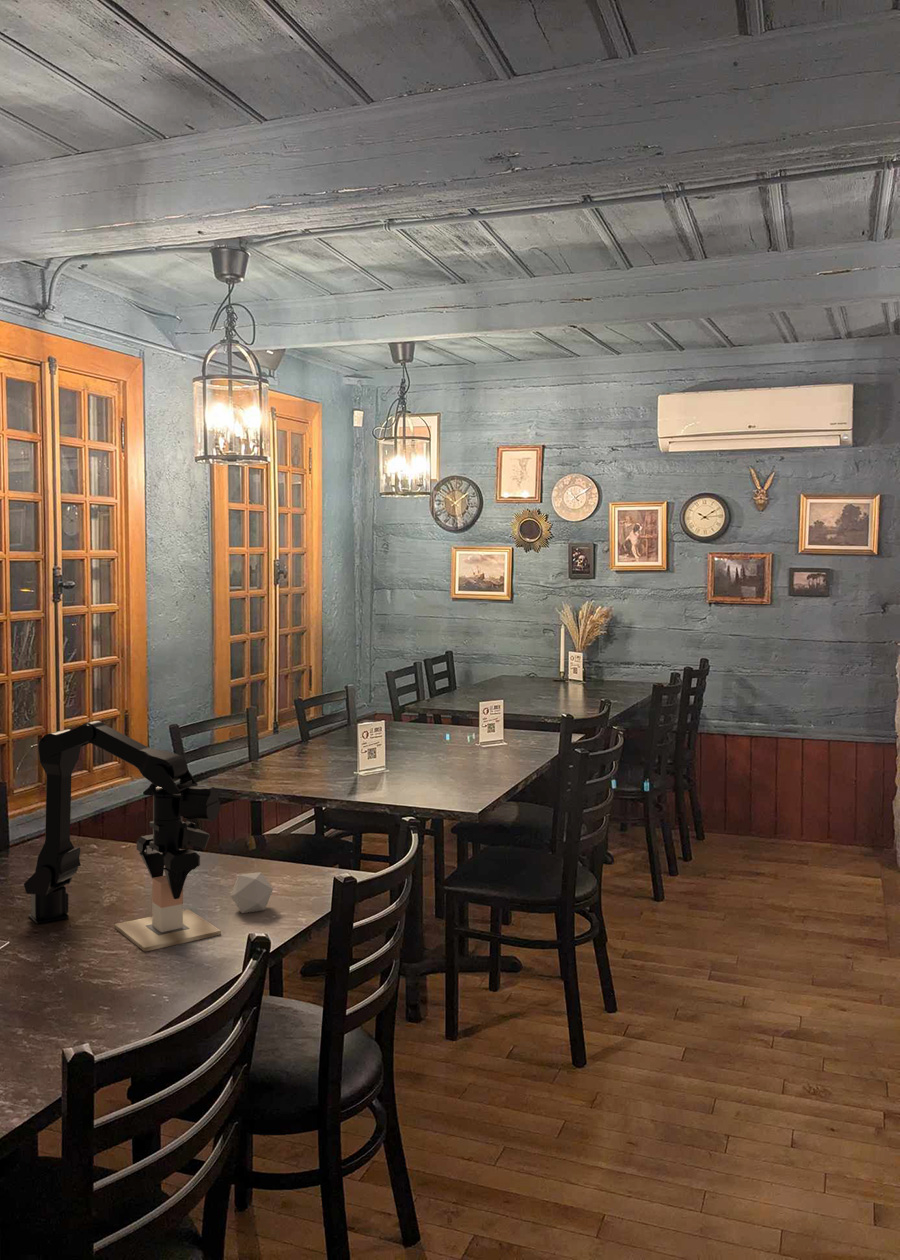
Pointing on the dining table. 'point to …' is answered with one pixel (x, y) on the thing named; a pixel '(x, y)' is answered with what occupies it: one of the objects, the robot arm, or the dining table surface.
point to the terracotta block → (164, 893)
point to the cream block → (167, 917)
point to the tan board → (166, 932)
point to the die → (251, 892)
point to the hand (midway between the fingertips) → (167, 892)
